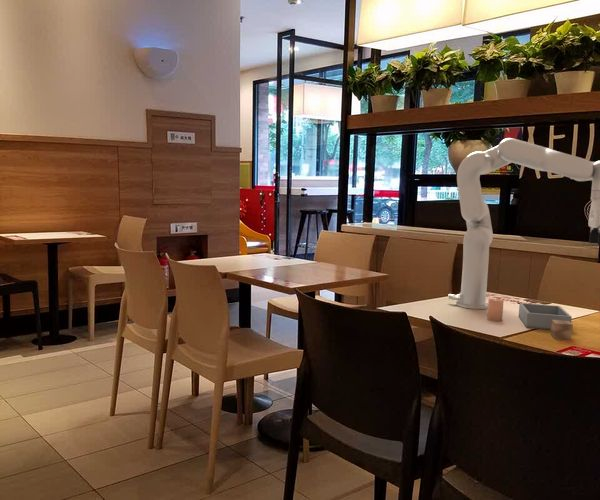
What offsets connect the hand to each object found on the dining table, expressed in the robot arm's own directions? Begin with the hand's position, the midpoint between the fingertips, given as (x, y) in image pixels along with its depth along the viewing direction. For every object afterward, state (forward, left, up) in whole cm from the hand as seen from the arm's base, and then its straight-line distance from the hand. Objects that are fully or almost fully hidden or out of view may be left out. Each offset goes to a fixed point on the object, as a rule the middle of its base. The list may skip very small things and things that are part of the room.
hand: (598, 244), depth 200 cm
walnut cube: (-17, -31, -28) cm, 45 cm away
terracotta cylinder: (-35, -13, -28) cm, 46 cm away
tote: (-19, -13, -28) cm, 36 cm away
